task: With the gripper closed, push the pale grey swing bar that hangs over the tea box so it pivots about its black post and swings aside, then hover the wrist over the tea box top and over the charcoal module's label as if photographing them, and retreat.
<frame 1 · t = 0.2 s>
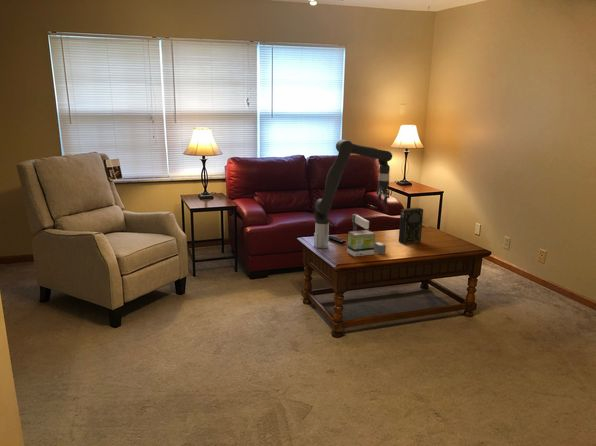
hand: (382, 202, 326), 29 cm above the table, fingers open, 8 cm apart
dark grey tall block: (409, 242, 334), on the table
arm post: (353, 248, 317), on the table
tea box: (360, 254, 307), on the table
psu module: (379, 252, 310), on the table
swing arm: (360, 221, 304), point 21 cm above the table, hinge at 0.0°
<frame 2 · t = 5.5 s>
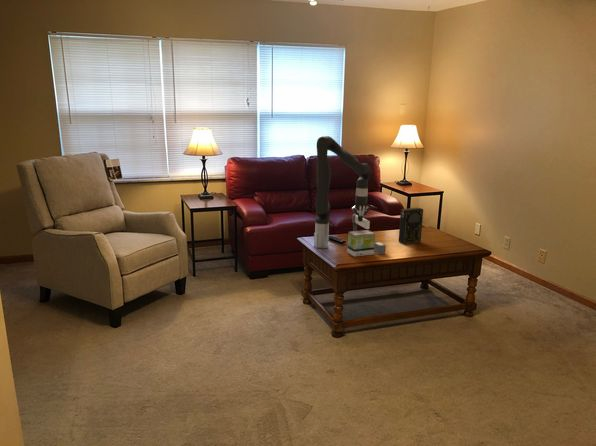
hand: (360, 221, 299), 23 cm above the table, fingers closed
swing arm: (360, 221, 304), point 21 cm above the table, hinge at 1.4°, touching gripper
everything else where it was.
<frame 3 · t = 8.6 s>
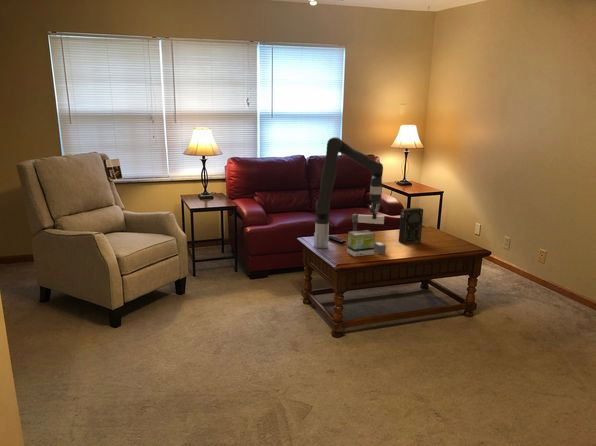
hand: (374, 218, 306), 23 cm above the table, fingers closed
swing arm: (368, 219, 310), point 21 cm above the table, hinge at 60.7°, touching gripper
everything else where it was.
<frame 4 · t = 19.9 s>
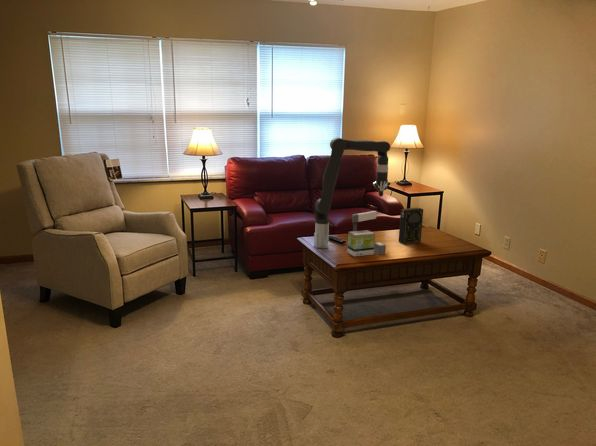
hand: (380, 196, 318), 35 cm above the table, fingers closed
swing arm: (364, 216, 317), point 21 cm above the table, hinge at 109.9°
everything else where it was.
at the end: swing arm at +110° (first picture: +0°); tea box moved 0.3 cm from its start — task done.
